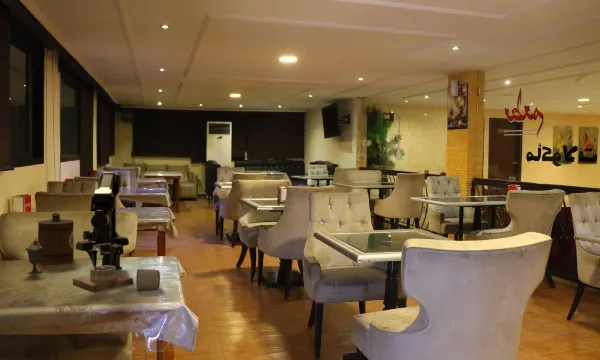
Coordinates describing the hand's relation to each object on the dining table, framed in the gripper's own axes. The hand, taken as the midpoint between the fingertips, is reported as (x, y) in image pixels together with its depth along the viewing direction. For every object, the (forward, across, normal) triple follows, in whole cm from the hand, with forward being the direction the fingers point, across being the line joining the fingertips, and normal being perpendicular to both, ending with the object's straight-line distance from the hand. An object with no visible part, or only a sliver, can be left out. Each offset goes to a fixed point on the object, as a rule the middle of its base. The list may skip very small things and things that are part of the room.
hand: (103, 265), depth 198 cm
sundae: (+7, +11, -35) cm, 37 cm away
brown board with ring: (+7, 0, 0) cm, 7 cm away
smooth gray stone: (+4, 0, 0) cm, 5 cm away
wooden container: (+7, -5, -52) cm, 53 cm away
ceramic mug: (+7, -8, +17) cm, 20 cm away
